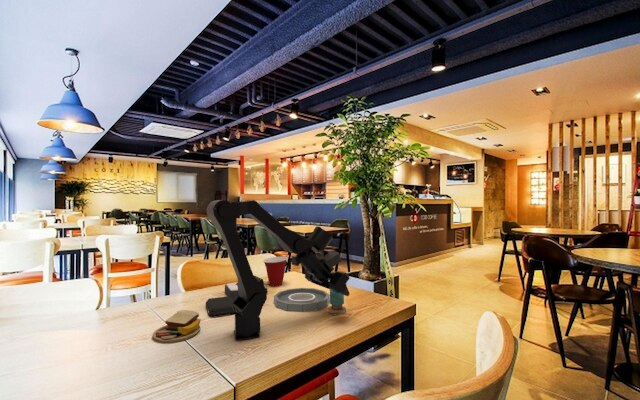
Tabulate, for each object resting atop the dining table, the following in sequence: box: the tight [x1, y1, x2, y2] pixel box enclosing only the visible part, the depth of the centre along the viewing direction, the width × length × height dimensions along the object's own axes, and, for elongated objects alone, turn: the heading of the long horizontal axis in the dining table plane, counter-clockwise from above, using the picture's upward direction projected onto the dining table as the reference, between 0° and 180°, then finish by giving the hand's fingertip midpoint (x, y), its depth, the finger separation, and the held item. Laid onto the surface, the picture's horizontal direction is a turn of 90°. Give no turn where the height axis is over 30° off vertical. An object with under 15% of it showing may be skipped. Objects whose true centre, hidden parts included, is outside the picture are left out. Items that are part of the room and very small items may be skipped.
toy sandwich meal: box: [152, 309, 201, 343], centre depth 93 cm, size 12×14×5 cm
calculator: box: [224, 282, 268, 299], centre depth 131 cm, size 11×4×15 cm
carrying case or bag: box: [205, 296, 236, 318], centre depth 113 cm, size 11×3×15 cm
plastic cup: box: [262, 256, 288, 287], centre depth 144 cm, size 11×11×12 cm
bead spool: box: [327, 271, 347, 316], centre depth 109 cm, size 6×6×13 cm
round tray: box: [273, 287, 330, 313], centre depth 120 cm, size 20×20×2 cm
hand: (340, 291), depth 110 cm, fingers open, 9 cm apart
